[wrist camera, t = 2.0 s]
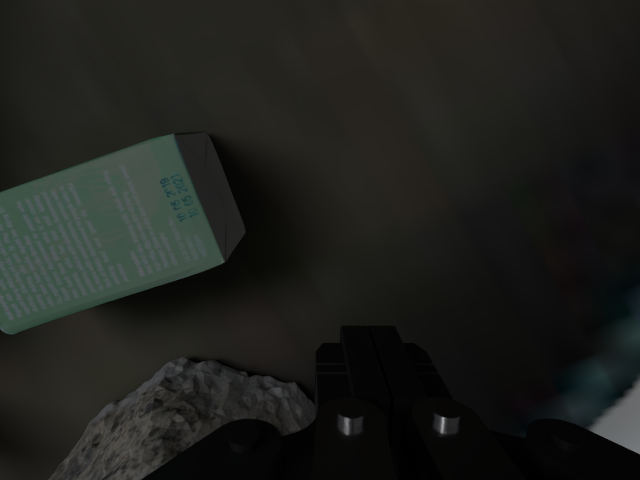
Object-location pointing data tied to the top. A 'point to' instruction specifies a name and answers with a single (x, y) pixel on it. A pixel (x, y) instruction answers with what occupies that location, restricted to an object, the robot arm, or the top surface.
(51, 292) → the box
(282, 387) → the petrified wood
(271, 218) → the top surface
